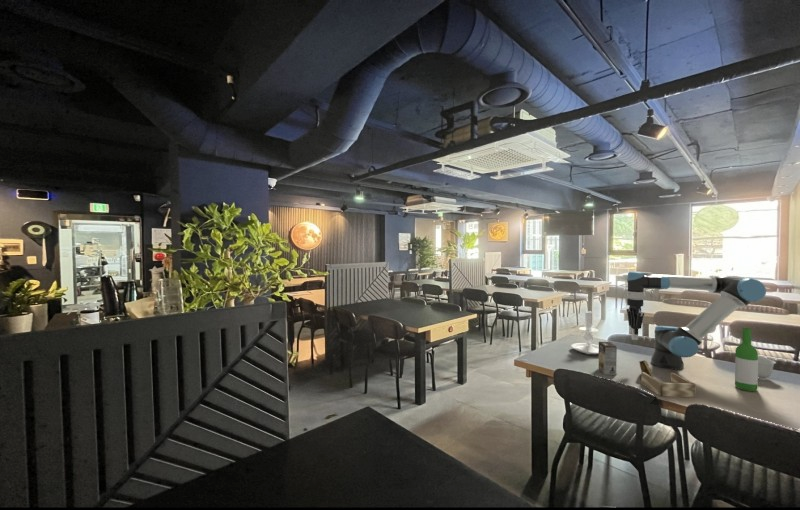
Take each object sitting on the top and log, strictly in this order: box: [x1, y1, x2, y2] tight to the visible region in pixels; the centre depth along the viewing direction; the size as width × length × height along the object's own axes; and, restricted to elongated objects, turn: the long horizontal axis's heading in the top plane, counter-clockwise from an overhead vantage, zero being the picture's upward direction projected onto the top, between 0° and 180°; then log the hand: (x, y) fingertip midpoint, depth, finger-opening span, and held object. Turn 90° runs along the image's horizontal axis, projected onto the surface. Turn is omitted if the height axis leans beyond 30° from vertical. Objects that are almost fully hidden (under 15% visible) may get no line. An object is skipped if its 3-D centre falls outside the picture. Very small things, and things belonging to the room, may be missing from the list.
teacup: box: [758, 355, 777, 381], centre depth 175 cm, size 12×15×10 cm
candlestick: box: [570, 310, 599, 355], centre depth 217 cm, size 21×25×28 cm
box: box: [640, 372, 696, 398], centre depth 162 cm, size 15×14×6 cm
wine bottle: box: [734, 327, 759, 392], centre depth 162 cm, size 8×8×30 cm
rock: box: [638, 360, 654, 378], centre depth 177 cm, size 11×9×10 cm
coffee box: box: [598, 341, 618, 376], centre depth 186 cm, size 9×6×16 cm
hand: (634, 339), depth 188 cm, fingers closed
